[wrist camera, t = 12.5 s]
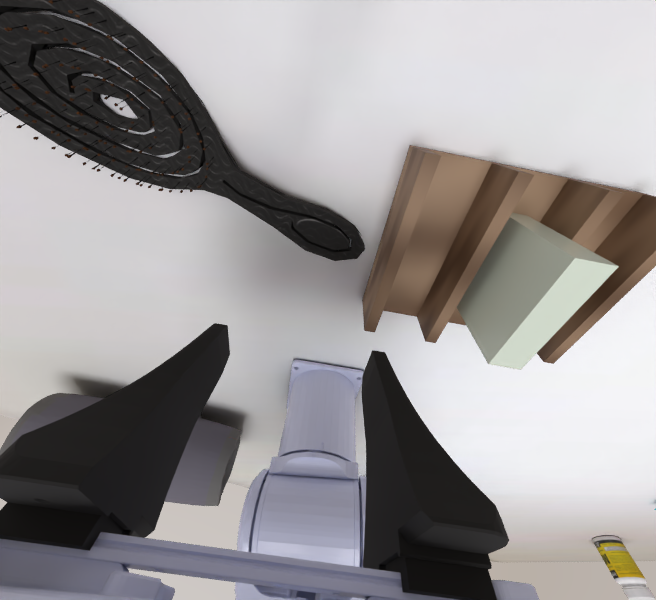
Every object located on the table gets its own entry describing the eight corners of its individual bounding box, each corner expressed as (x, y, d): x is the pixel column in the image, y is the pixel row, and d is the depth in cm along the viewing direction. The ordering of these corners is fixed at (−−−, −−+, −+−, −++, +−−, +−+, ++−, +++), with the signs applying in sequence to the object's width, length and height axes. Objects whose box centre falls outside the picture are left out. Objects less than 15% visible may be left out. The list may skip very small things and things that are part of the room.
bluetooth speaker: (247, 407, 34) (216, 497, 26) (242, 439, 40) (214, 522, 32) (67, 368, 32) (-28, 453, 24) (87, 407, 37) (15, 488, 29)
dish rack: (525, 329, 23) (553, 363, 20) (362, 300, 23) (364, 330, 20) (640, 192, 16) (712, 211, 13) (409, 145, 16) (425, 152, 13)
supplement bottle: (590, 536, 54) (624, 597, 47) (618, 534, 52) (658, 597, 45) (593, 542, 56) (626, 601, 49) (620, 540, 54) (659, 601, 47)
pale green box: (474, 300, 21) (520, 369, 15) (450, 296, 21) (488, 364, 15) (527, 215, 17) (618, 266, 11) (498, 209, 17) (575, 258, 11)
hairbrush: (333, 305, 20) (-83, 102, 13) (333, 280, 23) (-6, 103, 16) (402, 217, 16) (-163, -161, 9) (392, 200, 19) (-37, -94, 12)
